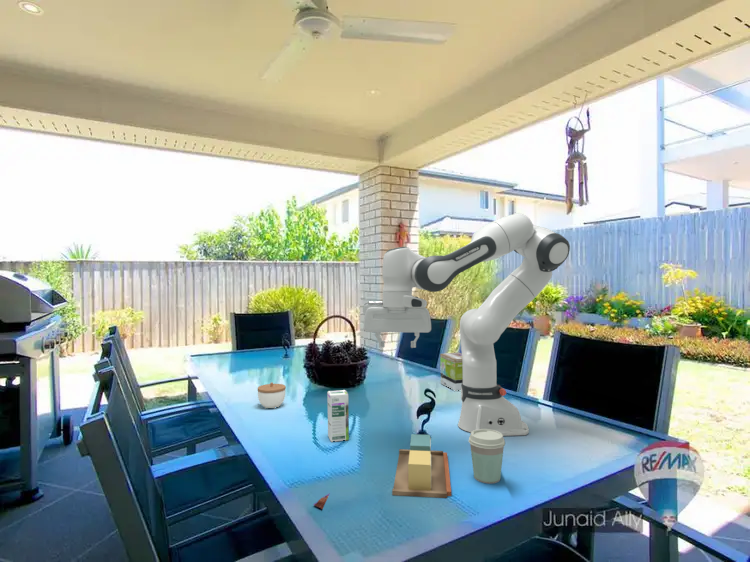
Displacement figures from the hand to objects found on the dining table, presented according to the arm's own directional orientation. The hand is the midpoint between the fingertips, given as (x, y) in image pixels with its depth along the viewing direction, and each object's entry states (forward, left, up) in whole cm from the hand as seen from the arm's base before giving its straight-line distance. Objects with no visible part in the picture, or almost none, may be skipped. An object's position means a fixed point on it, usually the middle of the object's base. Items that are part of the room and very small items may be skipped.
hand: (397, 347), depth 130 cm
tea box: (-22, -72, -29) cm, 81 cm away
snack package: (+11, +34, -30) cm, 47 cm away
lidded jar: (+52, -34, -29) cm, 69 cm away
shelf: (-7, +22, -29) cm, 37 cm away
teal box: (-7, +16, -28) cm, 33 cm away
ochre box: (-7, +27, -28) cm, 40 cm away
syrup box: (+19, -3, -29) cm, 35 cm away
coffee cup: (-23, +23, -29) cm, 44 cm away
